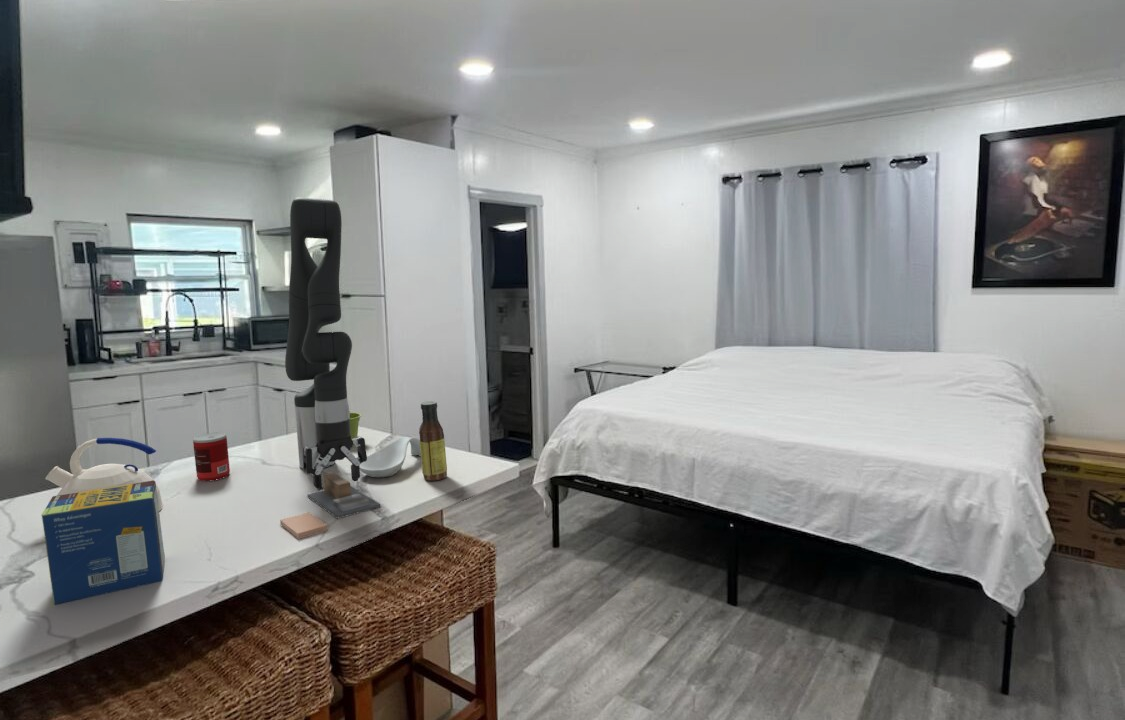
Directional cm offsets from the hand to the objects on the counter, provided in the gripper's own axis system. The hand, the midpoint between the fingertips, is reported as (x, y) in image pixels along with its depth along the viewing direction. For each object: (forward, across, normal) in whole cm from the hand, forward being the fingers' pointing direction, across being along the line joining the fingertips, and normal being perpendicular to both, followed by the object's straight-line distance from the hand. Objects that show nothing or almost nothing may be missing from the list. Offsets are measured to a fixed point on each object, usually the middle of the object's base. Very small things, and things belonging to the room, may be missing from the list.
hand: (337, 484), depth 148 cm
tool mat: (+3, 0, +3) cm, 4 cm away
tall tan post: (+3, 0, +3) cm, 4 cm away
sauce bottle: (+4, -24, +3) cm, 24 cm away
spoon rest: (+4, -21, -13) cm, 25 cm away
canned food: (+4, +18, -39) cm, 43 cm away
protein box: (+4, +45, +12) cm, 47 cm away
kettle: (+4, +42, -25) cm, 49 cm away
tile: (+3, +12, +7) cm, 14 cm away
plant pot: (+4, -21, -46) cm, 51 cm away
